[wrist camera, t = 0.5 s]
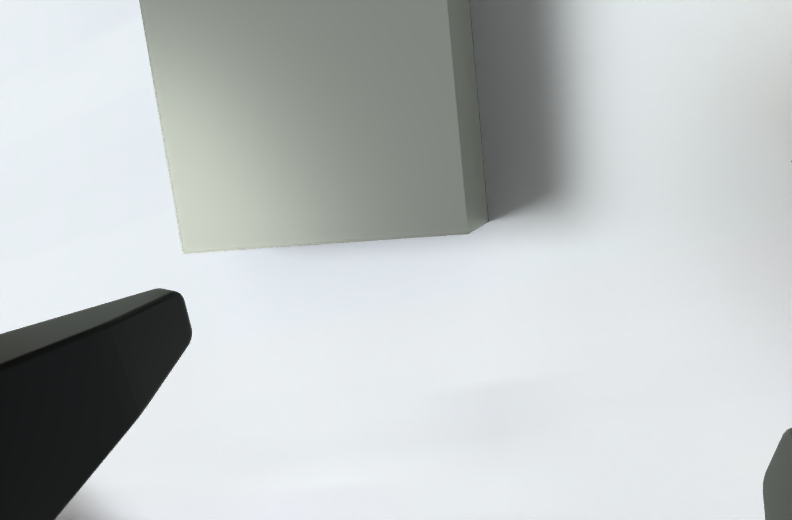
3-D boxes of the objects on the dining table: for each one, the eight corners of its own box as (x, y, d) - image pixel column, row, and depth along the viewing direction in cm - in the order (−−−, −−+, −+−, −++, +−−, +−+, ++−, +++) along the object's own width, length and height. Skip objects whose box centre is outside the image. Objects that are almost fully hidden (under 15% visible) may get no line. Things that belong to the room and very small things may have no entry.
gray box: (490, 220, 21) (468, 234, 18) (242, 239, 26) (182, 253, 22) (462, -105, 20) (431, -165, 16) (201, -25, 24) (129, -59, 20)
